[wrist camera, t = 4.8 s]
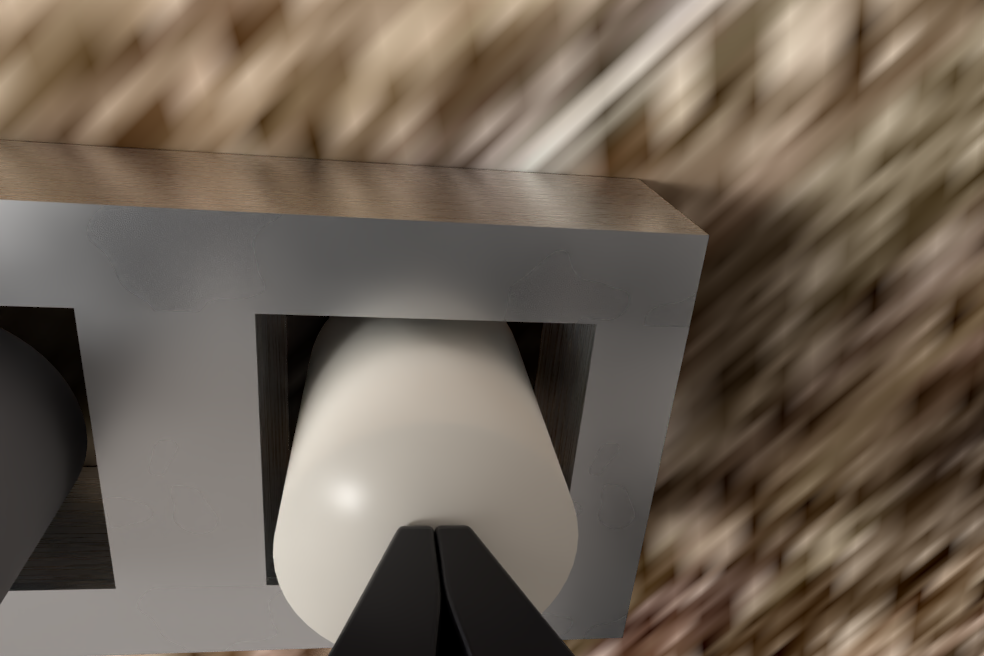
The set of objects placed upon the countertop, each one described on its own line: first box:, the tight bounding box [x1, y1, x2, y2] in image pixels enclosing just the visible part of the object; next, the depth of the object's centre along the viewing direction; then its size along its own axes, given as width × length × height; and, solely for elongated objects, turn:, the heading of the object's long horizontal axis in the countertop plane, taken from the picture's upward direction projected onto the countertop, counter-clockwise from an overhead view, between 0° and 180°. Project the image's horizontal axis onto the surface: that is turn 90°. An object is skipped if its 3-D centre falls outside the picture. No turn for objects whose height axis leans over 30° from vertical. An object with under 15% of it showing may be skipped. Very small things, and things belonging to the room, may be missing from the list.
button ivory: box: [273, 316, 578, 644], centre depth 11 cm, size 4×4×4 cm
